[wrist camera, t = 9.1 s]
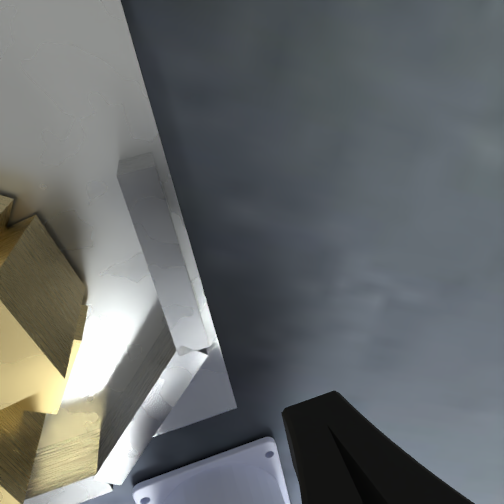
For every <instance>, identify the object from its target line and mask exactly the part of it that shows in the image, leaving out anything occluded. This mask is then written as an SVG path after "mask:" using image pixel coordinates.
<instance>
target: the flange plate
mask: <svg viewBox="0 0 504 504" xmlns="http://www.w3.org/2000/svg"><path fill="white" fill-rule="evenodd" d="M0 195H2V196H5V197H8V198H12V199H14V201H13V205H12V209H11V213H10V216H9V220H8V224H7V227H10V226H12V225H14V224H16V223H19V222H21V221H23V220H25V219H28V218H30V217H32V216H34V215H37V217H38V218H39V220H40V221H41V223H42V224H43V226H44V227H45V229H46V230H47V232H48V233H49V234H50V236H51V237H52V239H53V240H54V242H55V243H56V245H57V246H58V248H59V249H60V251H61V252H62V253H63V255H64V256H65V258H66V259H67V261H68V262H69V264H70V265H71V267H72V268H73V270H74V271H75V272H76V274H77V275H78V277H79V278H80V280H81V281H82V283H83V284H84V286H85V291H84V296H83V300H82V305H87V306H88V311H87V316H86V321H85V327H84V332H83V337H82V342H81V345H80V348H79V351H78V354H77V357H76V360H75V363H74V365H73V368H72V371H71V374H70V377H69V380H68V383H67V386H66V389H65V392H64V395H63V398H62V401H61V404H60V407H59V410H58V413H57V414H49V413H46V416H45V420H44V424H43V428H42V432H41V436H40V440H39V444H38V448H37V452H36V455H35V459H34V463H33V467H32V471H31V475H30V479H29V483H28V487H27V491H26V495H25V499H24V503H23V504H78V503H81V502H84V501H87V500H89V499H92V498H95V497H98V496H100V495H103V494H106V493H109V492H111V491H113V484H116V485H121V484H122V483H123V481H124V480H125V478H126V477H127V475H128V474H129V472H130V471H131V469H132V468H133V466H134V465H135V463H136V462H137V460H138V459H139V457H140V456H141V454H142V453H143V451H144V450H145V448H146V447H147V445H148V444H149V442H150V441H151V439H152V438H153V437H155V436H158V435H161V434H164V433H167V432H169V431H172V430H175V429H178V428H181V427H184V426H187V425H190V424H192V423H195V422H198V421H201V420H204V419H207V418H210V417H212V416H215V415H218V414H221V413H224V412H227V411H230V410H233V409H235V408H237V405H236V402H235V398H234V395H233V391H232V388H231V384H230V381H229V377H228V374H227V370H226V367H225V363H224V360H223V356H222V353H221V349H220V346H219V342H218V339H217V335H216V332H215V329H214V325H213V322H212V318H211V315H210V311H209V308H208V304H207V301H206V297H205V294H204V290H203V287H202V283H201V280H200V276H199V273H198V269H197V266H196V262H195V259H194V255H193V252H192V248H191V245H190V241H189V238H188V234H187V231H186V227H185V224H184V220H183V217H182V213H181V210H180V206H179V203H178V199H177V196H176V192H175V189H174V185H173V182H172V178H171V175H170V171H169V168H168V164H167V161H166V157H165V154H164V151H163V147H162V144H161V140H160V137H159V133H158V130H157V126H156V123H155V119H154V116H153V112H152V109H151V105H150V102H149V98H148V95H147V91H146V88H145V84H144V81H143V77H142V74H141V70H140V67H139V63H138V60H137V56H136V53H135V49H134V46H133V42H132V39H131V35H130V32H129V28H128V25H127V21H126V18H125V14H124V11H123V7H122V4H121V0H0Z"/></svg>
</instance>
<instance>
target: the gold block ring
mask: <svg viewBox="0 0 504 504" xmlns="http://www.w3.org/2000/svg"><path fill="white" fill-rule="evenodd" d="M13 201H14V199H12V198H8V197H5V196H2V195H0V504H23V503H24V499H25V495H26V491H27V487H28V483H29V479H30V475H31V471H32V467H33V463H34V459H35V455H36V452H37V448H38V444H39V440H40V436H41V432H42V428H43V424H44V420H45V416H46V413H49V414H57V413H58V410H59V407H60V404H61V401H62V398H63V395H64V392H65V389H66V386H67V383H68V380H69V377H70V374H71V371H72V368H73V365H74V363H75V360H76V357H77V354H78V351H79V348H80V345H81V342H82V337H83V332H84V327H85V321H86V316H87V311H88V306H87V305H82V300H83V296H84V291H85V286H84V284H83V283H82V281H81V280H80V278H79V277H78V275H77V274H76V272H75V271H74V270H73V268H72V267H71V265H70V264H69V262H68V261H67V259H66V258H65V256H64V255H63V253H62V252H61V251H60V249H59V248H58V246H57V245H56V243H55V242H54V240H53V239H52V237H51V236H50V234H49V233H48V232H47V230H46V229H45V227H44V226H43V224H42V223H41V221H40V220H39V218H38V217H37V215H34V216H32V217H30V218H28V219H25V220H23V221H21V222H19V223H16V224H14V225H12V226H10V227H7V224H8V220H9V216H10V213H11V209H12V205H13Z"/></svg>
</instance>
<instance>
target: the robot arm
mask: <svg viewBox="0 0 504 504" xmlns="http://www.w3.org/2000/svg"><path fill="white" fill-rule="evenodd" d="M282 417H283V422H284V426H285V431H286V435H287V440H288V444H289V449H290V453H291V458H292V462H293V466H294V469H295V472H296V475H297V478H298V481H299V485H300V492H301V499H302V504H474V503H473V502H471V501H470V500H469V499H467V498H466V497H464V496H463V495H461V494H460V493H459V492H457V491H456V490H455V489H453V488H452V487H450V486H449V485H448V484H446V483H445V482H444V481H442V480H441V479H439V478H438V477H437V476H435V475H434V474H433V473H431V472H430V471H429V470H428V469H426V468H425V467H424V466H422V465H421V464H420V463H418V462H417V461H416V460H415V459H414V458H412V457H411V456H410V455H409V454H407V453H406V452H405V451H404V450H402V449H401V448H400V447H399V446H397V445H396V444H395V443H394V442H392V441H391V440H390V439H389V438H388V437H387V436H385V435H384V434H383V433H382V432H381V431H380V430H378V429H377V428H376V427H375V426H374V425H373V424H372V423H370V422H369V421H368V420H367V419H366V418H365V417H364V416H363V415H362V414H360V413H359V412H358V411H357V410H356V409H355V408H354V407H353V406H352V405H351V404H350V403H349V402H348V401H347V400H346V399H345V398H344V397H343V396H342V395H341V394H340V393H338V392H336V391H332V392H329V393H326V394H323V395H320V396H318V397H315V398H312V399H309V400H306V401H304V402H301V403H298V404H295V405H292V406H289V407H287V408H285V409H284V411H283V412H282ZM268 451H269V452H268ZM133 498H134V500H135V502H136V504H290V500H289V496H288V492H287V487H286V483H285V479H284V475H283V471H282V467H281V463H280V459H279V455H278V450H277V446H276V443H275V440H274V439H273V438H272V437H264V438H261V439H259V440H256V441H253V442H250V443H248V444H245V445H242V446H239V447H237V448H234V449H231V450H228V451H226V452H223V453H220V454H217V455H215V456H212V457H209V458H206V459H203V460H201V461H198V462H195V463H192V464H190V465H187V466H184V467H181V468H179V469H176V470H173V471H170V472H168V473H165V474H162V475H159V476H157V477H154V478H151V479H148V480H146V481H143V482H140V483H138V484H136V485H135V486H134V487H133Z"/></svg>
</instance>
